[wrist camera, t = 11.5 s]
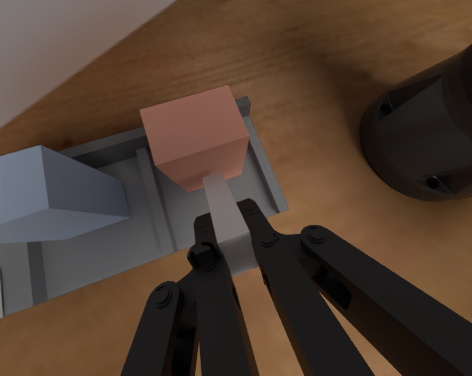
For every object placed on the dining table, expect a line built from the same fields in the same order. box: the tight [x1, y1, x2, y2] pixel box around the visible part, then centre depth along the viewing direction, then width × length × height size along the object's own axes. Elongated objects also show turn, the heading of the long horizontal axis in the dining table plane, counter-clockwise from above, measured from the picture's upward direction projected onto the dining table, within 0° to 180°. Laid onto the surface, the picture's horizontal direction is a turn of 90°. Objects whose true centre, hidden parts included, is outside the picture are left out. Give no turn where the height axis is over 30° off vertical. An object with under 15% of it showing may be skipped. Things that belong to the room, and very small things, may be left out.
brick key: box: [140, 85, 250, 193], centre depth 15 cm, size 6×4×8 cm, turn 110°
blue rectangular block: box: [0, 145, 130, 244], centre depth 13 cm, size 6×4×8 cm, turn 110°
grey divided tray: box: [0, 96, 289, 317], centre depth 17 cm, size 36×12×4 cm, turn 110°
